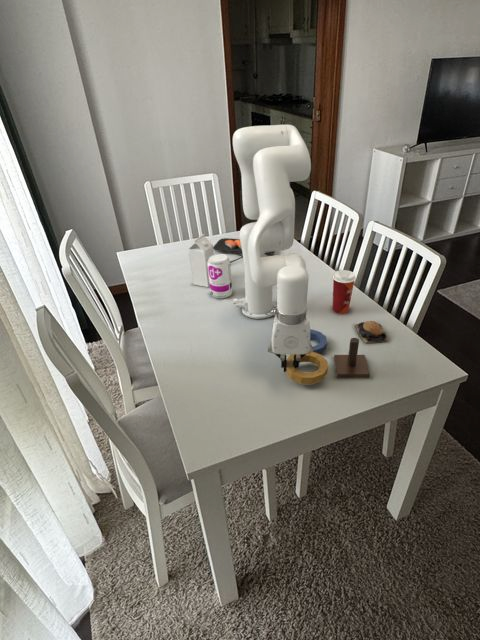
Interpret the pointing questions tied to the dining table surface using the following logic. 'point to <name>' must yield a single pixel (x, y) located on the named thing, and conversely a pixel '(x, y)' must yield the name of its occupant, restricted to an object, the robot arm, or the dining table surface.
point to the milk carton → (200, 260)
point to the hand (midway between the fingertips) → (289, 368)
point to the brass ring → (307, 377)
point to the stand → (351, 363)
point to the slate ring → (320, 339)
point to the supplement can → (220, 276)
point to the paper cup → (342, 290)
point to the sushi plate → (231, 246)
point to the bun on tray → (371, 332)
